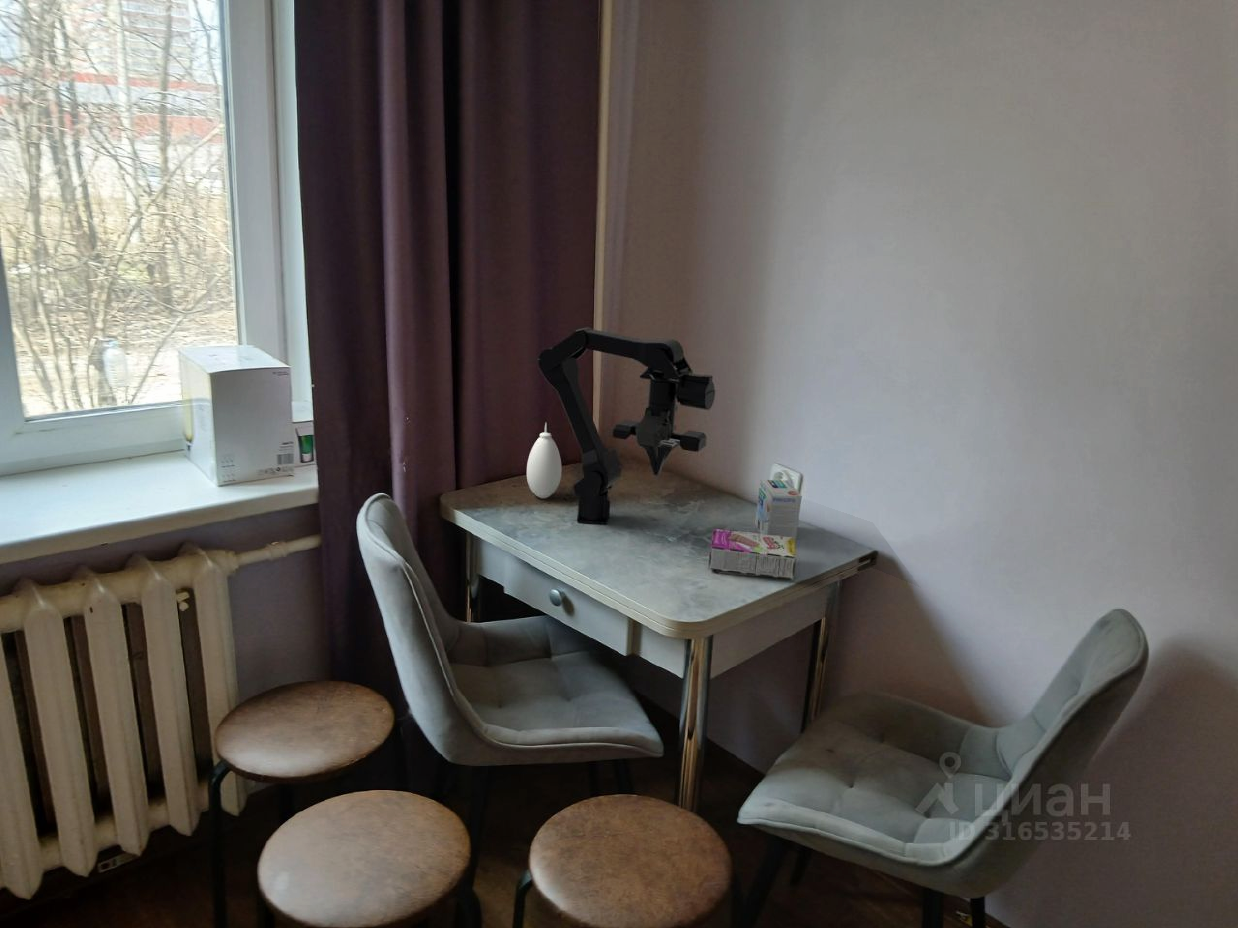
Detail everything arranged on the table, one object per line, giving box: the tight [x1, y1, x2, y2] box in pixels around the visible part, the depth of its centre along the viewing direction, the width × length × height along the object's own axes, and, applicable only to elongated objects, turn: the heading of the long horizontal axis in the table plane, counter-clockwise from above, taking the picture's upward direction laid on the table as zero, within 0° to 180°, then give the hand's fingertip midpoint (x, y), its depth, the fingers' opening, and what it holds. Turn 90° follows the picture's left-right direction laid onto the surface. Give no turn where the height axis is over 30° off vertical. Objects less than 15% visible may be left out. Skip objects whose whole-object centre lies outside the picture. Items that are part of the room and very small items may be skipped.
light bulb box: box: [754, 479, 803, 542], centre depth 188 cm, size 11×7×11 cm, turn 5°
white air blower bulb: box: [526, 422, 562, 499], centre depth 200 cm, size 8×8×18 cm
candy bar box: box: [708, 527, 797, 580], centre depth 171 cm, size 11×5×16 cm
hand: (656, 474), depth 181 cm, fingers closed
